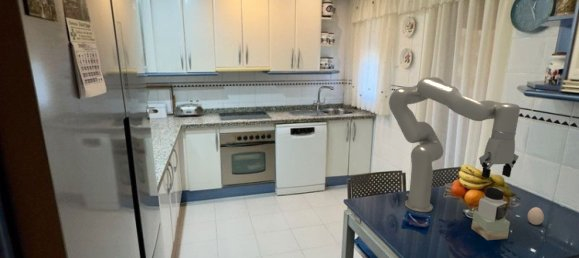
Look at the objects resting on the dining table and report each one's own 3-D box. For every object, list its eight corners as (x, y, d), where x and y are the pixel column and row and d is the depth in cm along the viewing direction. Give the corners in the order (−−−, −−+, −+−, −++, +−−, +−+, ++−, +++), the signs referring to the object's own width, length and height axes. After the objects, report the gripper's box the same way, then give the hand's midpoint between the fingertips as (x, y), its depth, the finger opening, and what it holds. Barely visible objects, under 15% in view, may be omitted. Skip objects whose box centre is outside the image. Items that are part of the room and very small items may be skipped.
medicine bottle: (495, 222, 122) (499, 194, 119) (477, 214, 128) (480, 187, 125) (505, 217, 125) (509, 190, 122) (487, 210, 131) (491, 184, 129)
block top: (472, 219, 132) (474, 211, 131) (493, 220, 132) (495, 211, 131) (485, 231, 123) (487, 222, 122) (508, 231, 123) (510, 222, 122)
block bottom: (471, 229, 132) (472, 220, 131) (489, 227, 134) (491, 219, 133) (487, 241, 124) (489, 231, 123) (507, 239, 125) (508, 230, 124)
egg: (537, 228, 132) (541, 211, 131) (523, 222, 137) (526, 206, 136) (544, 225, 135) (548, 209, 133) (530, 220, 140) (533, 203, 138)
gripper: (512, 132, 125) (505, 172, 129) (476, 133, 122) (470, 174, 126) (530, 136, 118) (522, 178, 122) (492, 138, 115) (484, 181, 118)
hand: (495, 176), depth 124 cm, fingers open, 9 cm apart
